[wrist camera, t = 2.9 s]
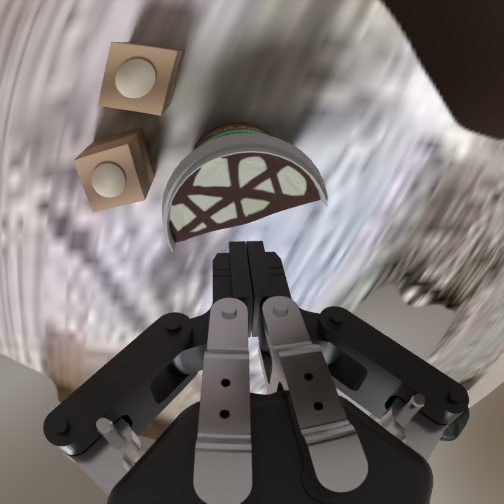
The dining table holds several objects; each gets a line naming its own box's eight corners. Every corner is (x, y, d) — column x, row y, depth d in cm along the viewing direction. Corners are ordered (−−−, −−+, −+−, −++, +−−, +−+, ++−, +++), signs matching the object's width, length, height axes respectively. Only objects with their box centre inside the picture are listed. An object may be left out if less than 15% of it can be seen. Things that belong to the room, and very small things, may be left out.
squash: (448, 423, 80) (473, 439, 65) (412, 435, 79) (436, 453, 64) (454, 385, 81) (482, 397, 66) (418, 395, 80) (445, 411, 65)
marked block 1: (129, 42, 21) (110, 42, 17) (184, 51, 22) (177, 51, 18) (117, 95, 24) (97, 106, 20) (170, 104, 25) (160, 116, 21)
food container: (286, 94, 26) (319, 119, 18) (301, 154, 29) (335, 204, 21) (154, 136, 27) (127, 180, 19) (178, 192, 30) (165, 254, 22)
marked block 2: (93, 141, 26) (72, 161, 22) (141, 127, 26) (127, 144, 22) (108, 187, 29) (92, 213, 25) (154, 176, 29) (144, 201, 25)
